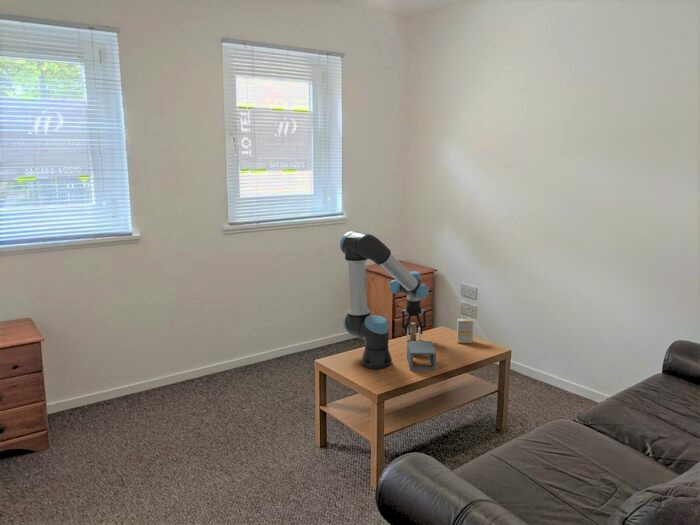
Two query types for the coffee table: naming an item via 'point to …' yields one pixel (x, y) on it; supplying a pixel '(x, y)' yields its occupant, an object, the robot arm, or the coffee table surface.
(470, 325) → the supplement box
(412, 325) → the cream headed mallet
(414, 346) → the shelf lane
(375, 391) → the coffee table surface
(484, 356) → the coffee table surface
